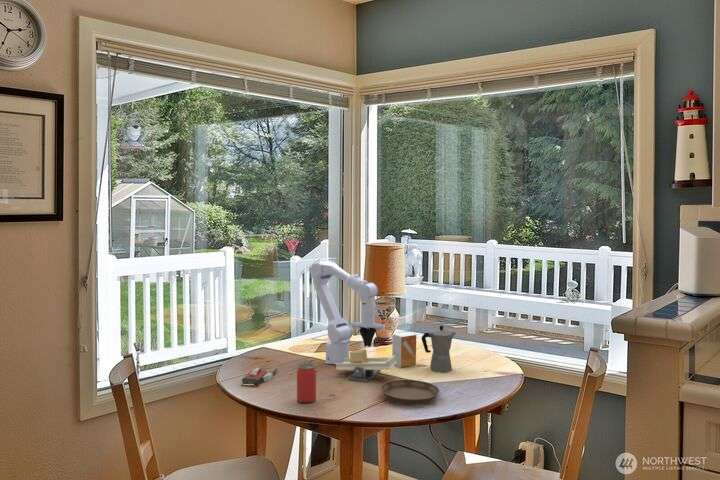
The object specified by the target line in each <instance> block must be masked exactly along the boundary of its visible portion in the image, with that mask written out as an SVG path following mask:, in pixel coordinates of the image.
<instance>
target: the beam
mask: <svg viewBox="0 0 720 480" xmlns="http://www.w3.org/2000/svg"><path fill="white" fill-rule="evenodd" d="M396 364H397V361H396V355H393V356H392V355H391V357H367V363H351V360H350V357H349V358H344V362H343V363H336V364H335V367H336V368H335V369H336V371H355V367H359V368H363V370H380V371H382V370H384V371H387V370H388V371H389V370H391V369H392V368H393V367H395V365H396Z"/></svg>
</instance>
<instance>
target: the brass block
mask: <svg viewBox="0 0 720 480" xmlns="http://www.w3.org/2000/svg"><path fill="white" fill-rule="evenodd" d="M367 353H368V352H367V349H354V350H352V351H351V352H350V351H349V358H350V360H351V363H367V358H368V354H367Z"/></svg>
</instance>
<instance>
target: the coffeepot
mask: <svg viewBox="0 0 720 480" xmlns="http://www.w3.org/2000/svg"><path fill="white" fill-rule="evenodd" d="M456 334H457V333H456V332H455V331H450V330H445V329H444V325H440V326H439V329H436V330H432V331H430V332H429V331H428V332H424V333H423V334H422V336H421V342H422V345H423V348H424V351H425V353H431V352H432V354H431V360H430V365H429V368H430V369H429V370H431V371H432V372H435V373H449V372H451V371H452V370H453V369H452V362H451V361H452V360H451V356H450V355H451V353H450V350H451V346H452V342H453V341H452V340H453V338H454V337H455V335H456ZM427 338H431V339H430V340H431V341H430V342H431V347H432V351H431V350H430V349H429V347H428V344H427V343H428V342H427Z"/></svg>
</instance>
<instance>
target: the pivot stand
mask: <svg viewBox="0 0 720 480" xmlns="http://www.w3.org/2000/svg"><path fill="white" fill-rule="evenodd" d="M380 372H381V370H363V368H359V367H355V370H354V372H353V373H351V374H350V375H348V376H347V381H355V382H362V383H363V382H364V383H368V382H369V381H370V380H371V379H373V378H374V377H376V375H378V374H379V373H380Z"/></svg>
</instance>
